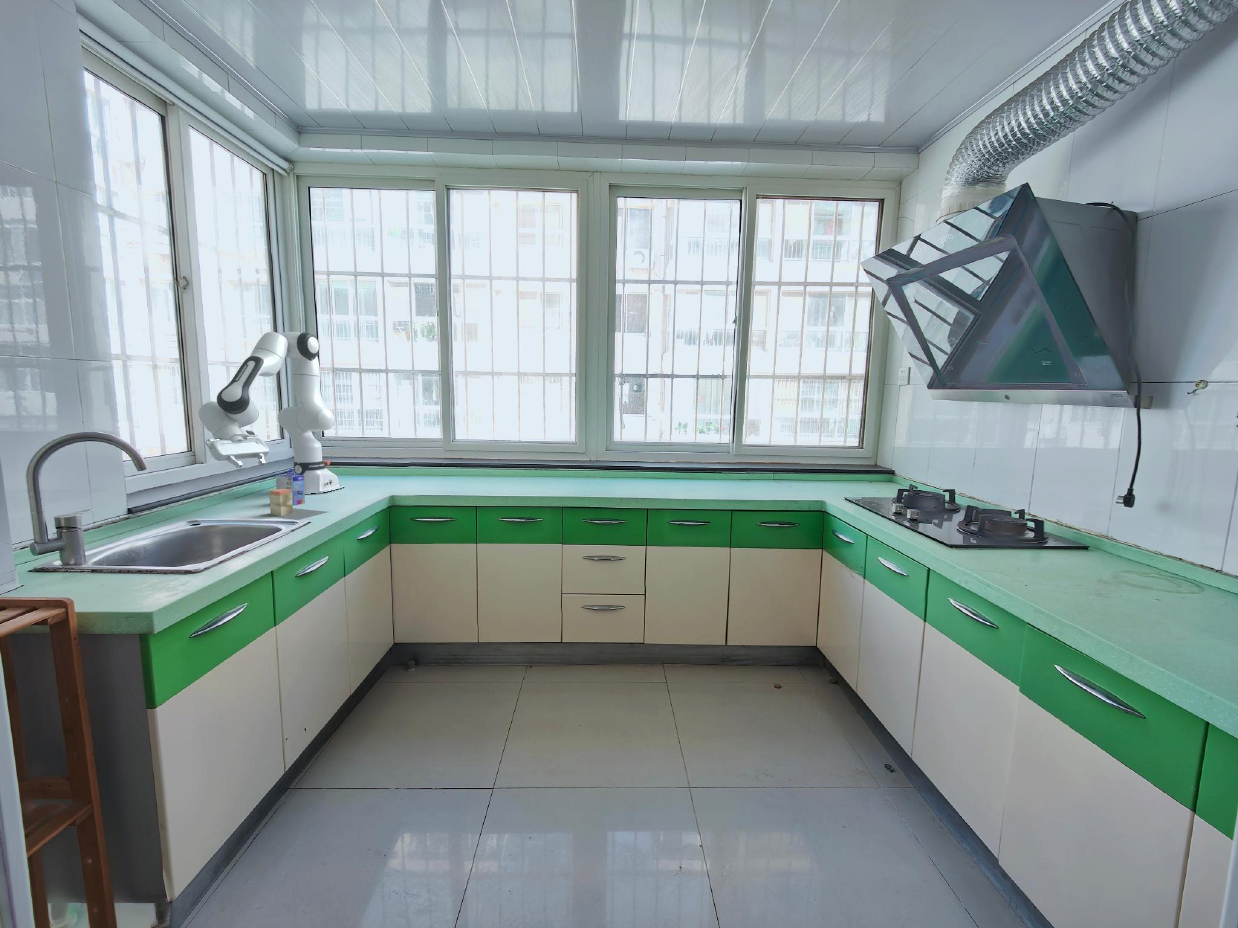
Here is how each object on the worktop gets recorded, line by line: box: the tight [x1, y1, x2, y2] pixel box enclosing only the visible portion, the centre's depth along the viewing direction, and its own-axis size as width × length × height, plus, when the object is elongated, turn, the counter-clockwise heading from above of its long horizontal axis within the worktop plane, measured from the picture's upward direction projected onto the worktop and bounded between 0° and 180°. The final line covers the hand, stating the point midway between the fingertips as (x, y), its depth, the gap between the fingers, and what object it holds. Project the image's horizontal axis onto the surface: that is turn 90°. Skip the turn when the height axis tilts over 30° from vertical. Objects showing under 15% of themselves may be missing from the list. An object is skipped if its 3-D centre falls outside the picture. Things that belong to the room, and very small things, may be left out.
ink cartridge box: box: [275, 468, 306, 506], centre depth 218 cm, size 10×6×14 cm, turn 70°
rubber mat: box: [259, 507, 328, 521], centre depth 201 cm, size 14×18×1 cm
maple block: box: [268, 489, 294, 516], centre depth 200 cm, size 5×5×9 cm
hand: (252, 465), depth 201 cm, fingers open, 8 cm apart
